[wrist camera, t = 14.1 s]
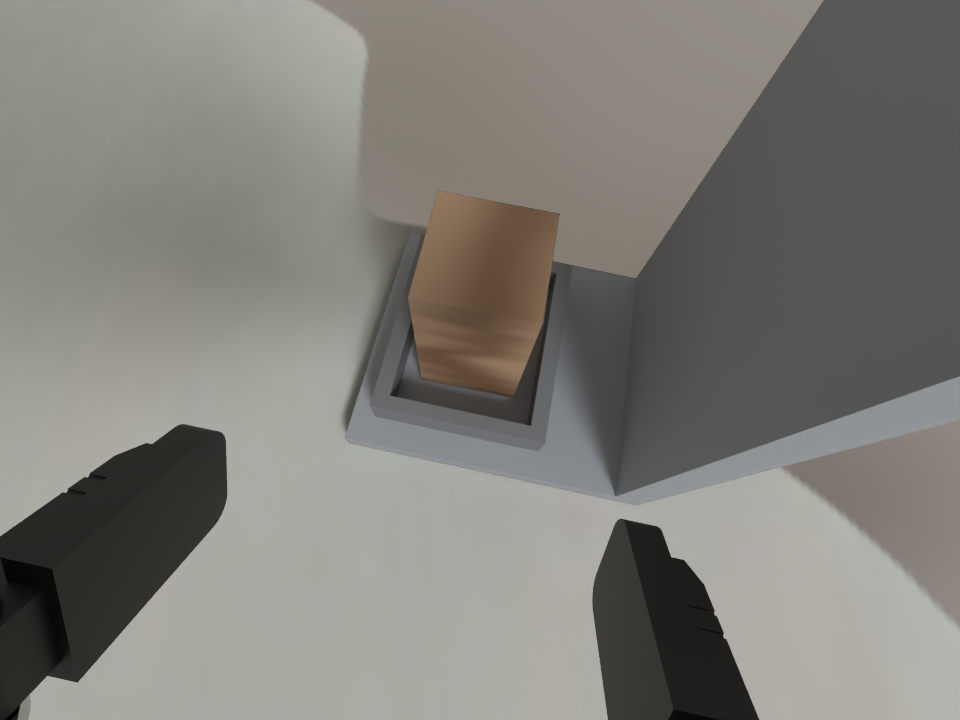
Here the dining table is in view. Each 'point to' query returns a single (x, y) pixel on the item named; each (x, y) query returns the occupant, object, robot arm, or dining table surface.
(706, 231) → the grey socket stand
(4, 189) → the dining table surface
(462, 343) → the walnut block
